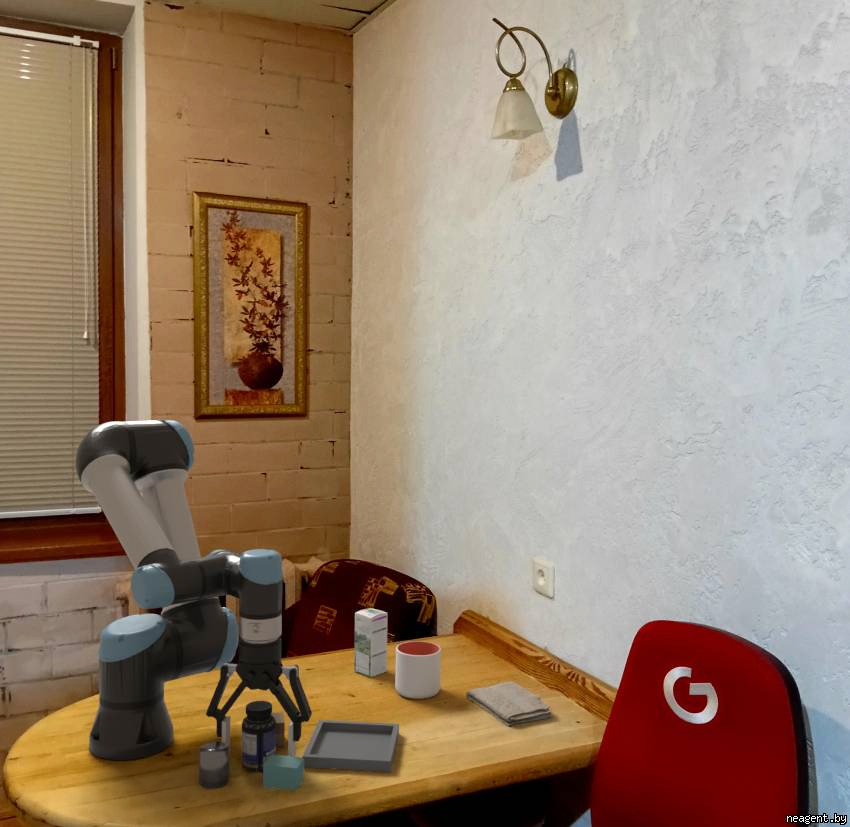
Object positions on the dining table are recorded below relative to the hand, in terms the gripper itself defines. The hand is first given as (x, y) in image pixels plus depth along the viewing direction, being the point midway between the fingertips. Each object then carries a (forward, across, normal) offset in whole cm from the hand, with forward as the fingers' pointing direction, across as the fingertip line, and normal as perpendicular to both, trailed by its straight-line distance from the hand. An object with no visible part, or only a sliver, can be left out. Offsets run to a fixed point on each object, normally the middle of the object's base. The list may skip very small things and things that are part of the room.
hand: (258, 755), depth 156 cm
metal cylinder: (+2, -6, -7) cm, 9 cm away
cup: (+2, +26, +38) cm, 46 cm away
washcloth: (+2, +46, +32) cm, 56 cm away
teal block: (+2, +6, -6) cm, 9 cm away
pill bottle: (+2, 0, 0) cm, 2 cm away
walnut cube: (+2, 0, +9) cm, 9 cm away
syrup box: (+2, +14, +49) cm, 51 cm away
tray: (+2, +16, +8) cm, 18 cm away
